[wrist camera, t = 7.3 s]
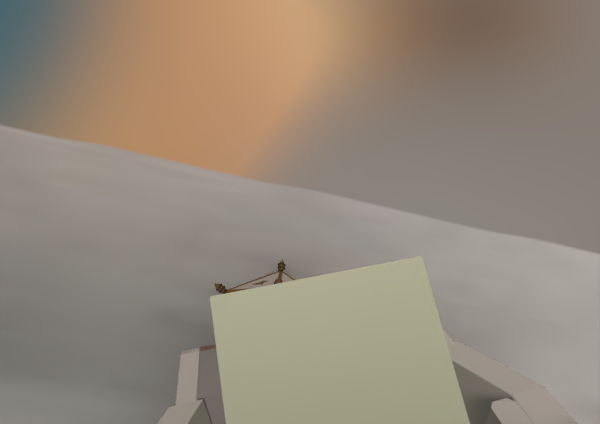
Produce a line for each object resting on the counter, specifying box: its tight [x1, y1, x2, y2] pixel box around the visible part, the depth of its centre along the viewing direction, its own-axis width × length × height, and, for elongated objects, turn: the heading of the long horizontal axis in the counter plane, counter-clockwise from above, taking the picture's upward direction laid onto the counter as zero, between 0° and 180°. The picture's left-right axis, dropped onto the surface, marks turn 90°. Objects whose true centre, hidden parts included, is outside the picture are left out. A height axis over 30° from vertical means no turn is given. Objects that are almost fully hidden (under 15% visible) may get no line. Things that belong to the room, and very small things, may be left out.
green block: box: [210, 256, 470, 424], centre depth 11 cm, size 4×4×10 cm
